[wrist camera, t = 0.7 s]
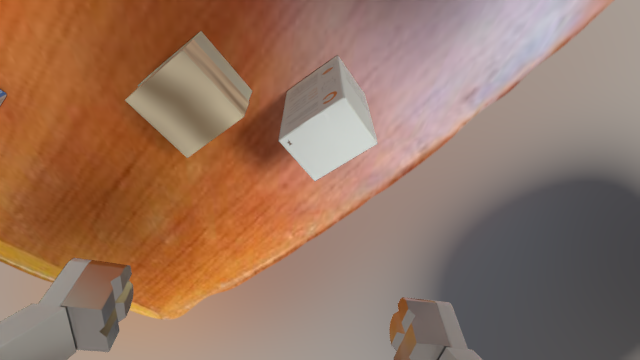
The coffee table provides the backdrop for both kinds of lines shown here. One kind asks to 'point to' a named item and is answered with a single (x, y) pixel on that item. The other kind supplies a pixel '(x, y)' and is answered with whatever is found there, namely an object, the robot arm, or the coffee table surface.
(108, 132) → the coffee table surface
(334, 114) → the small box
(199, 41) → the tower base block
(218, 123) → the tower top block
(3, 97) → the ink cartridge box
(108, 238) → the coffee table surface
